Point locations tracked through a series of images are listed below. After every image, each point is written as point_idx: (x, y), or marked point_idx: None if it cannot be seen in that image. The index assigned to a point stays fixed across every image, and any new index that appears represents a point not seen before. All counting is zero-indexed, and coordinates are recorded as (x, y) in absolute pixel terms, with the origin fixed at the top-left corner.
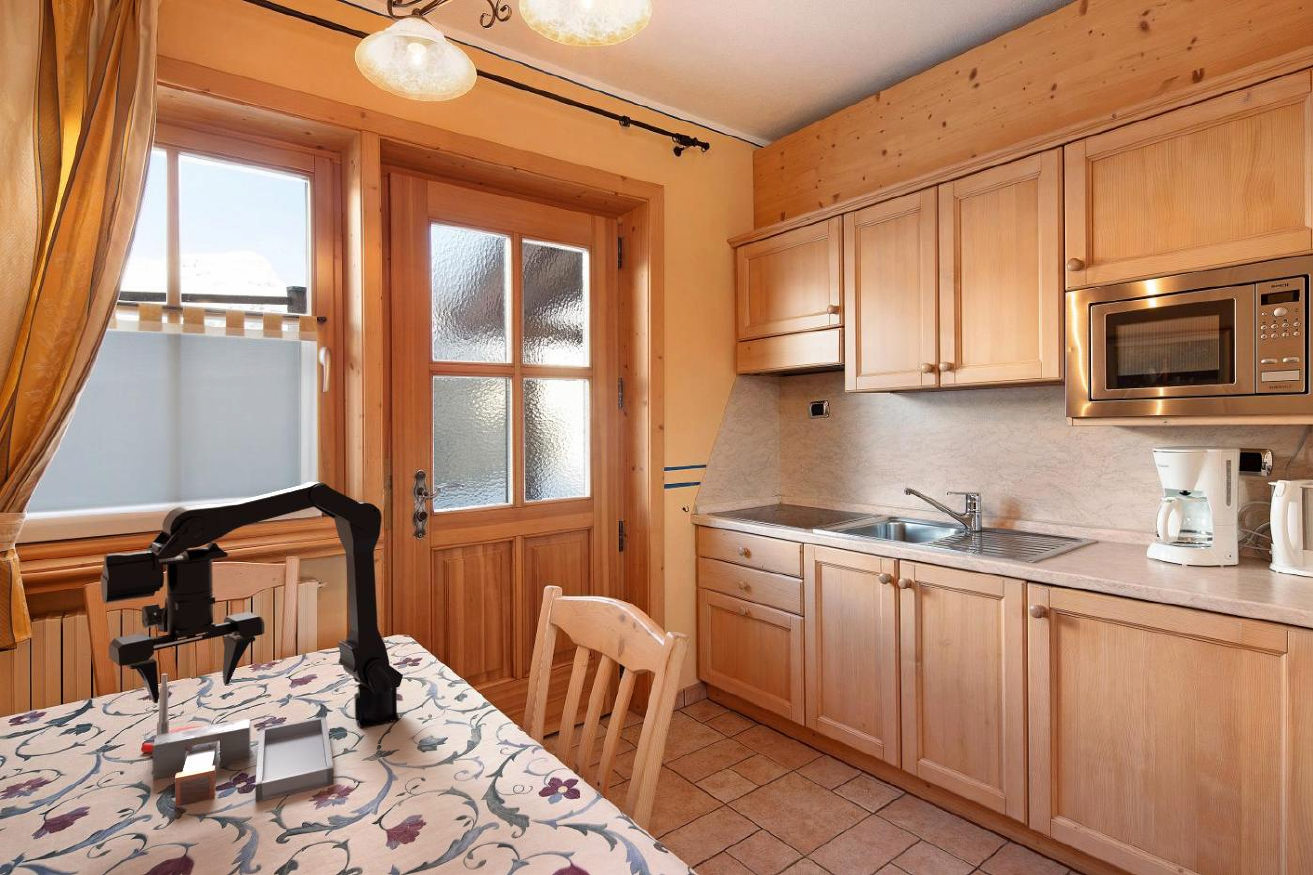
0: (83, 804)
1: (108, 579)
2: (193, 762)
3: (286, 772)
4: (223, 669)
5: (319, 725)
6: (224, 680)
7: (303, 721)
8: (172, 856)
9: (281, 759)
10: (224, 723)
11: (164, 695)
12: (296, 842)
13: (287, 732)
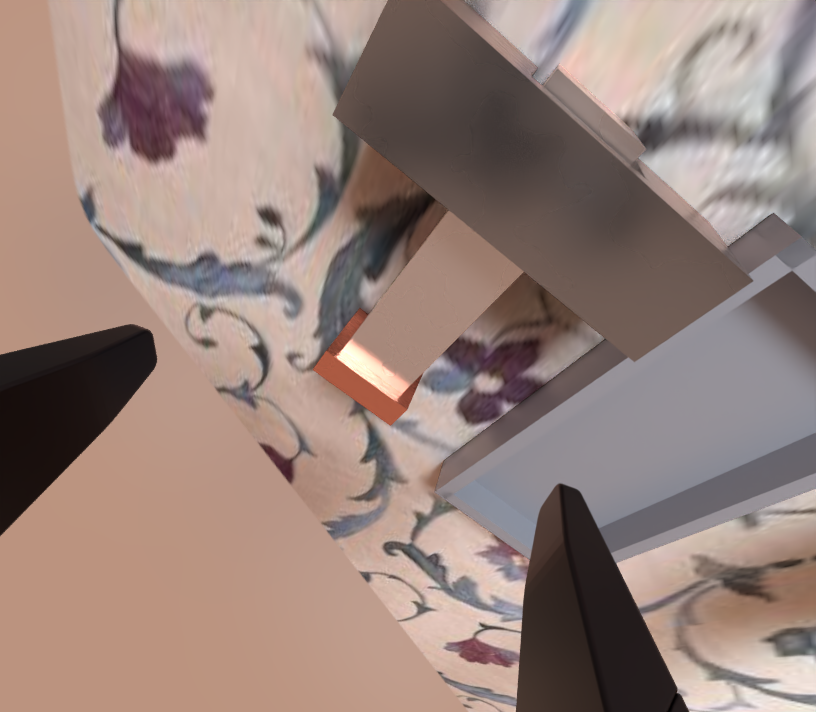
0: (201, 49)
1: None
2: (409, 303)
3: (560, 460)
4: (565, 583)
5: None
6: (548, 516)
7: None
8: (277, 446)
9: (626, 407)
10: (651, 211)
11: None
12: (396, 565)
13: None
